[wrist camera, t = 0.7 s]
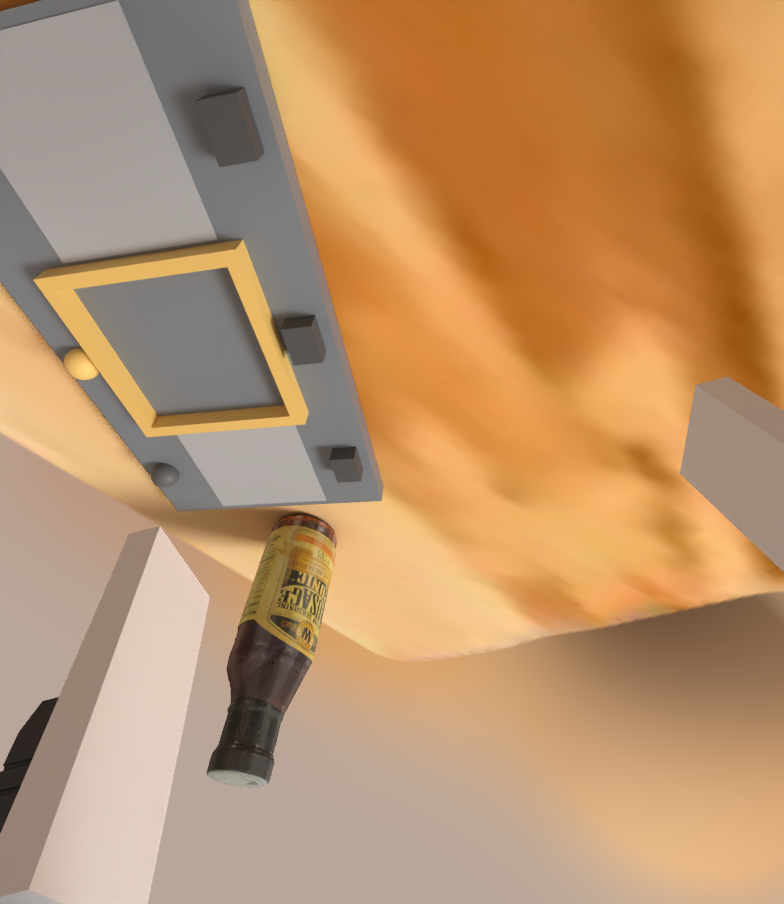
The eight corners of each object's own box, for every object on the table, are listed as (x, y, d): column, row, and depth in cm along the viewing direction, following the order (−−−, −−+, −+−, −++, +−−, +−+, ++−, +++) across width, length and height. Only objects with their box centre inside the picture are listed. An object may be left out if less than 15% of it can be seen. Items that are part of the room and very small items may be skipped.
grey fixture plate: (-144, 52, 21) (-206, 62, 19) (235, -48, 18) (209, -48, 16) (184, 497, 43) (171, 524, 41) (383, 486, 40) (380, 514, 38)
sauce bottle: (351, 540, 46) (312, 793, 32) (300, 555, 48) (242, 795, 34) (309, 500, 42) (244, 769, 28) (256, 519, 44) (171, 773, 30)
